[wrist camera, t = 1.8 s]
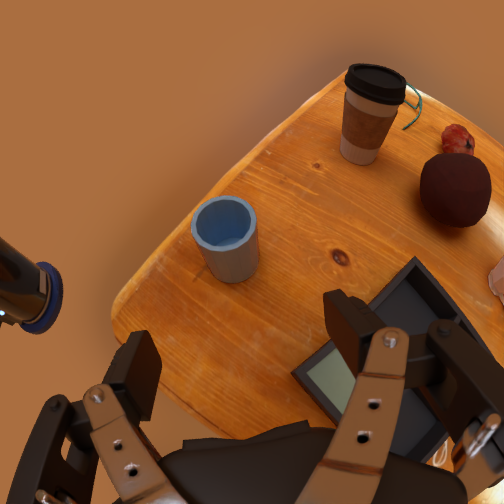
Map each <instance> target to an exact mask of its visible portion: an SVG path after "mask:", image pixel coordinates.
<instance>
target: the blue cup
mask: <svg viewBox="0 0 504 504" xmlns="http://www.w3.org/2000/svg"><path fill="white" fill-rule="evenodd" d="M191 231H192V236H193V238H194V240H195V242H196V244H197V246H198V248H199V250H200V252H201V254H202V256H203V258H204V260H205V262H206V264H207V266H208V268H209V269H210V271H211V273H212V274H213V275H214V276H215V277H216V278H217V279H219V280H221V281H223V282H226V283H238V282H242V281H244V280H246V279H248V278H249V277H250V276H252V275H253V274H254V272H255V271H256V269H257V267H258V264H259V242H258V229H257V218H256V215H255V212H254V209H253V208H252V207H251V206H250V205H249V204H248V203H247V202H246V201H245V200H243V199H240V198H238V197H236V196H219V197H215V198H212V199H210V200H208V201H207V202H205V203H203V204H202V205H201V206H200V207H199V208H198V209H197V211H196V212H195V213H194V215H193V218H192V222H191Z"/></svg>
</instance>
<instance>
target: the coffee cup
mask: <svg viewBox="0 0 504 504" xmlns="http://www.w3.org/2000/svg"><path fill="white" fill-rule="evenodd" d="M344 82H345V85H346V86H347V91H346V92H345V98H344V112H343V123H342V135H341V143H340V152H341V154H342V155H343V157H344V158H345V159H347V160H348V161H350V162H352V163H354V164H358V165H368V164H371V163H372V162H373V161H374V159H375V157H376V155H377V153H378V151H379V149H380V147H381V145H382V143H383V141H384V139H385V137H386V135H387V133H388V131H389V129H390V127H391V125H392V123H393V121H394V119H395V117H396V115H397V112H398V110H397V109H398V107H399V105H401V104H402V103H403V102H404V99H405V90H406V80H405V78H404V77H403V76H401V75H400V74H399V73H397V72H396V71H394V70H391V69H389V68H386V67H383V66H379V65H372V64H353V65H351V66H350V67H349V69H348V72H347V74H346V75H345V81H344Z"/></svg>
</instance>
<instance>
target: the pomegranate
mask: <svg viewBox="0 0 504 504" xmlns="http://www.w3.org/2000/svg"><path fill="white" fill-rule="evenodd" d="M441 138H442V149H443V151H444V153H466V154H469V155H472V156H473V154H474V147H475V141H474V138H473V137H472V135H471V134H469V132H468V131H467V129H466V128H465V127H463V126H461V125H459V124H451V125H450V126H447V127H446V128H445V131H443V132H442V136H441Z"/></svg>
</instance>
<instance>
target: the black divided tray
mask: <svg viewBox="0 0 504 504" xmlns="http://www.w3.org/2000/svg"><path fill="white" fill-rule="evenodd" d="M368 307H370V309H371V310H372V311H373V312H374V313H375V314H376V315H377V316H378V317H379V318H380V319H381V320H382V321H383V322H384V323H385V324H386V325H387V326H388V327H396V328H400V329H402V330H404V331H405V332H406V333H407V334H408V336H411V335H418V334H424V333H427V330H428V326H429V324H430V323H431V322H433V321H435V320H438V319H448V320H452V321H454V322H455V323H457V324H458V325H459V326H460V327H461V328H462V329H463V330H465V331H466V332H467V333H468V334H469V335H470V336H471V337H472V338H473V339H474V340H475V341H476V342H477V343H478V344H480V345H481V346H482V347H483V348H484V349H485V350H486V351H487V352H488V353H489V354H490V355H491V356H492V357H493V358H494V356H493V355H492V353H491V352H490V350H489V349H488V347H487V346H486V344H485V343H484V341H483V340H482V338H481V337H480V335H479V334H478V333H477V331H476V330H475V328H474V327H473V326H472V324H471V323H470V321H469V320H468V319H467V317H466V316H465V315H464V313H463V312H462V311H461V310H460V308H459V307H458V306H457V304H456V303H455V302H454V301H453V299H452V298H451V297H450V296H449V294H448V293H447V292H446V291H445V289H444V288H443V287H442V286H441V285H440V284H439V282H438V281H437V280H436V279H435V278H434V276H433V275H432V274H431V273H430V272H429V271H428V270H427V269H426V267H425V266H424V265H423V264H422V263H421V262H420V261H419V260H418V259H417V257H416V256H414V257H413V258H412V259H411V260H410V261H409V262H408V263H407V264H406V265H405V266H404V267H403V268H402V269H401V270H400V271H399V272H398V273H397V274H396V276H395V277H394V278H393V279H392V280H391V281H390V282H389V283H388V284H387V285H386V286H385V287H384V288H383V289H382V290H381V292H380V293H379V294H378V295H377V296H376V297H375V298H374V299H373V300H372V301H371V302H370V303H369V304H368ZM494 359H495V358H494ZM291 374H292V375H293V377H294V378H295V379H296V380H297V381H298V383H299V384H300V385H301V386H302V387H303V388H304V390H305V391H306V392H307V393H308V394H309V395H310V397H311V398H312V399H313V400H314V401H315V402H316V403H317V405H318V406H319V407H320V408H321V409H322V410H323V411H324V413H325V414H326V415H327V416H328V417H329V418H330V419H331V420H332V421H333V423H334V424H335V425H336V426H337V427H338V425H339V422H340V420H341V418H342V415H343V413H344V410H345V408H346V405H347V403H348V400H349V398H350V395H351V392H352V390H353V387H354V384H355V382H356V380H355V378H354V376H353V374H352V373H351V371H350V369H349V368H348V366H347V364H346V363H345V361H344V359H343V358H342V356H341V354H340V353H339V351H338V349H337V348H336V346H335V344H334V343H333V341H332V340H331V339H330V340H329V341H328V342H327V343H326V344H325V345H323V346H322V347H321V348H320V349H319V350H318V351H316V352H315V353H314V354H313V355H312V356H310V357H309V358H308V359H307V360H305V361H304V362H303V363H302V364H301V365H299V366H298V367H297V368H296V369H294V370H293V371H292V372H291ZM449 436H450V435H449V434H448V432H447V430H446V429H445V427H444V426H443V424H442V422H441V421H440V419H439V418H438V416H437V415H436V413H435V412H434V410H433V408H432V407H431V405H430V404H429V402H428V401H427V399H426V398H425V396H424V395H423V393H422V392H421V391H420V389H419V388H418V387H416V388H410V389H404V390H403V395H402V400H401V405H400V410H399V414H398V419H397V423H396V427H395V431H394V435H393V438H392V442H391V446H390V449H389V451H391V452H393V453H396V454H398V455H401V456H404V457H407V458H410V459H412V460H415V461H418V462H421V463H424V464H425V463H426V462H427V461H428V460H429V459H430V458H431V457H432V456H433V455H434V454H435V452H436V451H437V450H438V449H439V448H440V447H441V446H442V444H443V443H444V442H445V441H446V440H447V438H448V437H449Z"/></svg>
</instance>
